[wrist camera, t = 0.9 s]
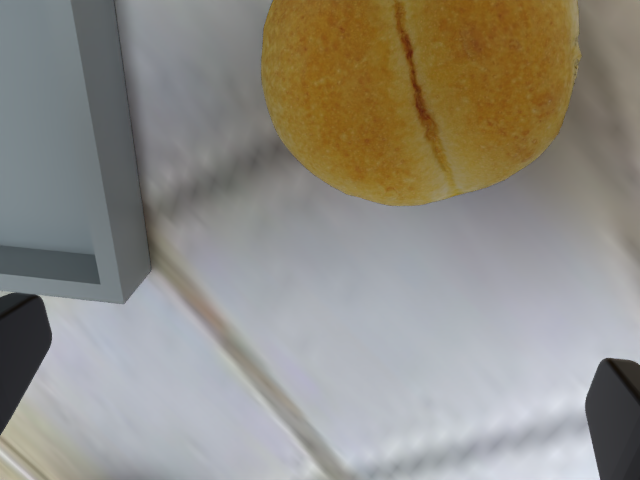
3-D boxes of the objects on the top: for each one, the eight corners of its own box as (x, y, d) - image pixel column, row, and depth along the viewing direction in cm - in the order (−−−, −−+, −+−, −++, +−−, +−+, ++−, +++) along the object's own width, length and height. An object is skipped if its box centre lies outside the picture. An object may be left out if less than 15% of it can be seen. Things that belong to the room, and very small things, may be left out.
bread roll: (236, -31, 15) (195, -35, 12) (546, -132, 14) (608, -174, 10) (311, 214, 19) (296, 267, 15) (567, 158, 17) (619, 203, 13)
